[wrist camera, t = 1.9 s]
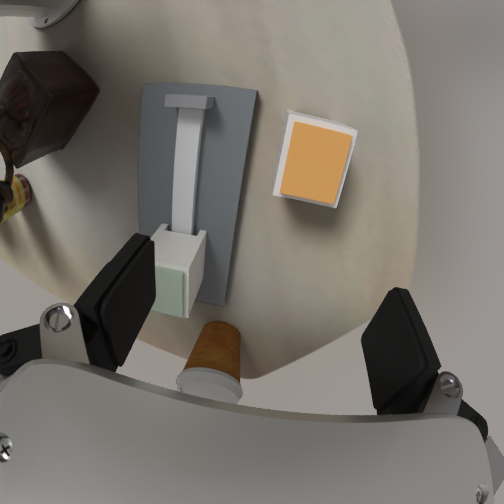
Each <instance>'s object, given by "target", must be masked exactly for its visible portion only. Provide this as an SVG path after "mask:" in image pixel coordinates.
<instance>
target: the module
mask: <svg viewBox="0 0 504 504" xmlns="http://www.w3.org/2000/svg"><path fill="white" fill-rule="evenodd" d="M357 132H358V131H357V130H355V129H353V128H351V127H349V126H346V125H344V124H342V123H340V122H337V121H334V120H328V119H324V118H320V117H316V116H311V115H307V114H303V113H298V112H294V111H291V110H286V113H285V119H284V124H283V129H282V134H281V139H280V144H279V149H278V154H277V159H276V165H275V170H274V182H273V195H275V196H281V197H286V198H291V199H296V200H300V201H305V202H310V203H315V204H319V205H324V206H328V207H333V208H336V207H337V204H338V201H339V198H340V194H341V191H342V187H343V184H344V180H345V177H346V173H347V170H348V166H349V163H350V159H351V155H352V151H353V147H354V144H355V140H356V136H357Z"/></svg>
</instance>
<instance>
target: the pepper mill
mask: <svg viewBox="0 0 504 504" xmlns="http://www.w3.org/2000/svg"><path fill="white" fill-rule="evenodd" d="M99 91H100V89H99V88H98V86H97V85H96V83H95V82H94V81H93V80H92V78H91V77H90V76H89V75H88V74H87V73H86V72H85V71H84V70H83V69H82V68H81V67H80V66H79V65H78V64H77V63H75V62H74V61H73V60H72V59H71V58H70V57H69V56H67V55H66V54H65V53H64V52H63V51H33V52H16V53H13V55H12V57H11V59H10V61H9V63H8V65H7V66H6V69H5V71H4V73H3V75H2V77H1V80H0V152H1V154H2V156H3V158H4V162H5V165H6V175H5V181H0V224H1V222H2V221H3V219H4V210H5V206H8V205H9V204H10V203H12V202H13V196H14V193H13V190H12V188H11V186H12V182H13V174H14V167H13V165H14V166H15V167H16V168H20V167H22V166H24V165H26V164H28V163H30V162H32V161H34V160H36V159H38V158H40V157H43V156H45V155H47V154H49V153H52V152H54V151H57V150H59V149H63V148H64V147H65V145H66V144H67V143H68V141H69V140H70V139H71V137H72V136H73V134H74V133H75V131H76V130H77V128H78V126H79V125H80V123H81V122H82V120H83V119H84V117H85V116H86V114H87V112H88V111H89V110H90V108H91V106H92V104H93V102H94V100H95V98H96V97H97V95H98V93H99Z"/></svg>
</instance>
